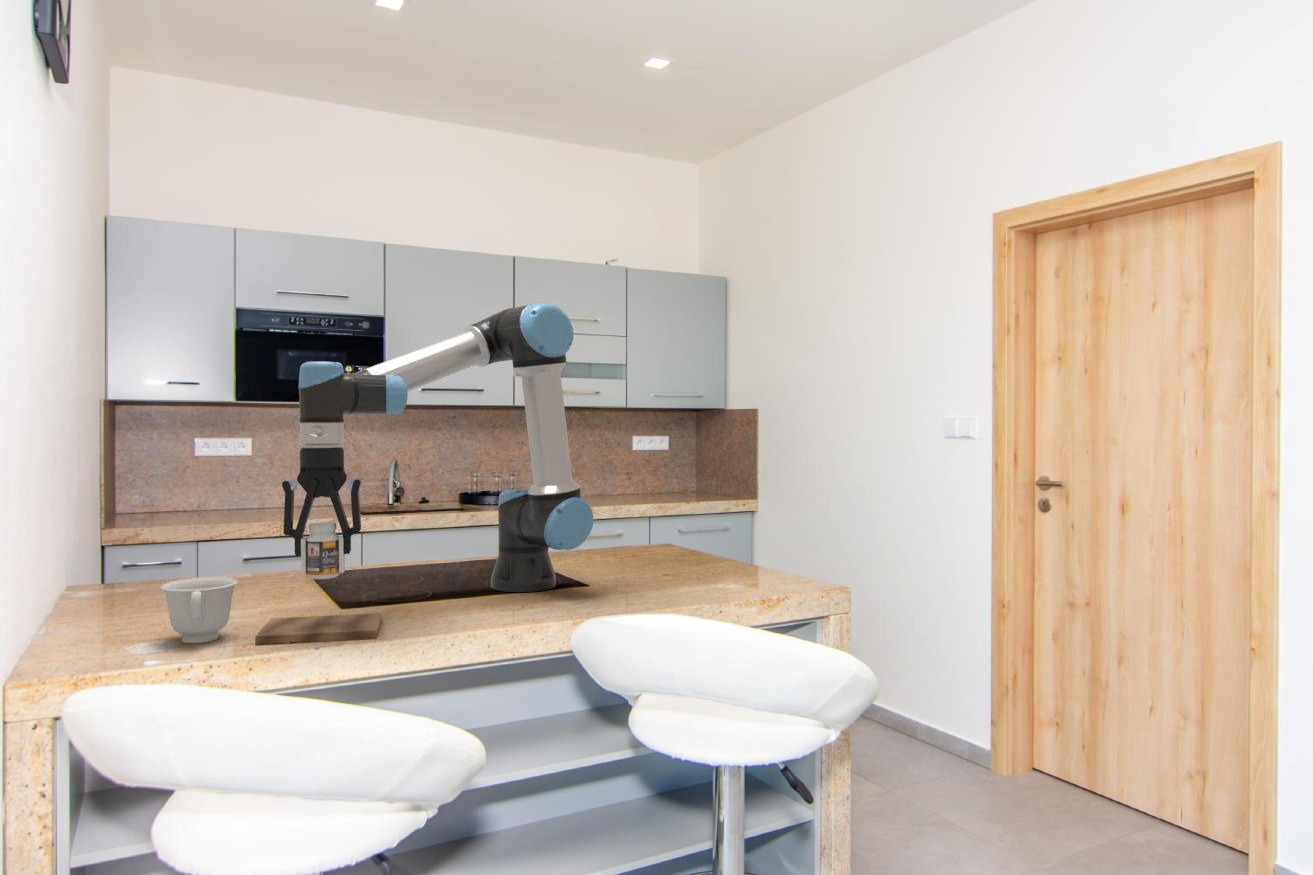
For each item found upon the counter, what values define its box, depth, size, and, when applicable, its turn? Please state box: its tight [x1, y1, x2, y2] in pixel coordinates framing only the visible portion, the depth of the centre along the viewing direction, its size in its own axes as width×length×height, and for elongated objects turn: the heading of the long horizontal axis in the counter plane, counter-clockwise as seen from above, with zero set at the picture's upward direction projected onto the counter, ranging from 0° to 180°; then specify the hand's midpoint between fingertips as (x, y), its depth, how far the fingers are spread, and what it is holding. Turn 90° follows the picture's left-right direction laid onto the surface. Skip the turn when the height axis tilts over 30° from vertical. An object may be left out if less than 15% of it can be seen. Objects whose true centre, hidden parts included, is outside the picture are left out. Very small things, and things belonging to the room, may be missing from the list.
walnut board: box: [254, 612, 383, 646], centre depth 158 cm, size 20×14×2 cm
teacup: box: [160, 576, 239, 644], centre depth 151 cm, size 12×15×10 cm
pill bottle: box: [306, 521, 341, 580], centre depth 158 cm, size 6×6×10 cm
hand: (323, 572), depth 158 cm, fingers closed on pill bottle, 6 cm apart
